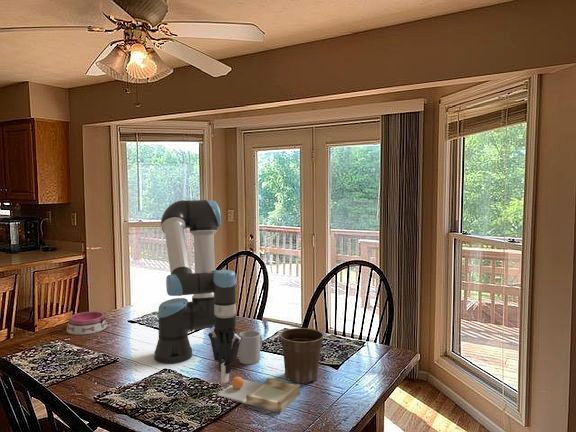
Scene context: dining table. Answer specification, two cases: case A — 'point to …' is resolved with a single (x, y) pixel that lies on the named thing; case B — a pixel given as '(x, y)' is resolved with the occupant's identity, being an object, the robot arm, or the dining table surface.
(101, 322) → the dog bowl
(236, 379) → the ball
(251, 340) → the mug
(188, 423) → the dining table surface
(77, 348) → the dining table surface
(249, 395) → the fence
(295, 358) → the plant pot
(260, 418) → the dining table surface
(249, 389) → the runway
